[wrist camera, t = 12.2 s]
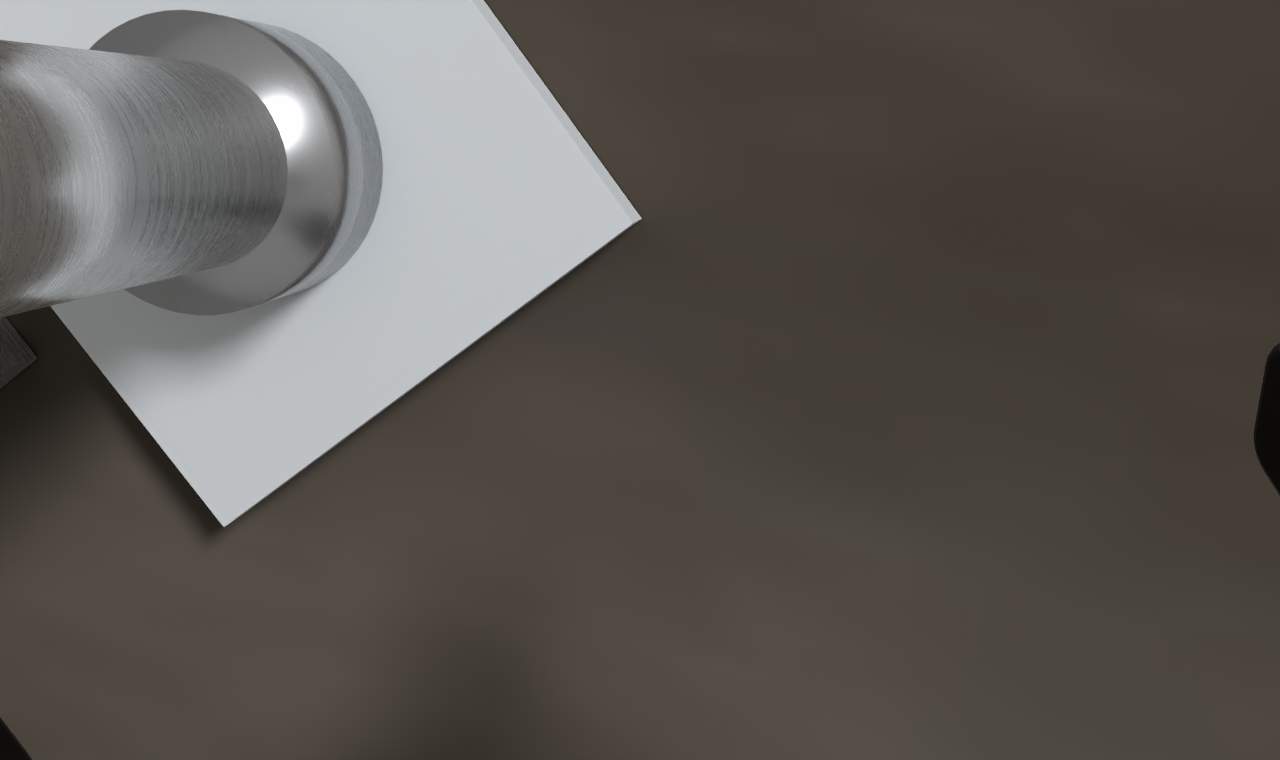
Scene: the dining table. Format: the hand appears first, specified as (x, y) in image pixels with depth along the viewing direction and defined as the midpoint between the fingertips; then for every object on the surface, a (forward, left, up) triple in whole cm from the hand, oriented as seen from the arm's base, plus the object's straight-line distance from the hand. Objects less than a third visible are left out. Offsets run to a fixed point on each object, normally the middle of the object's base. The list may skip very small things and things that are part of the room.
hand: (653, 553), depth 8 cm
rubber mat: (+7, +5, -12) cm, 15 cm away
